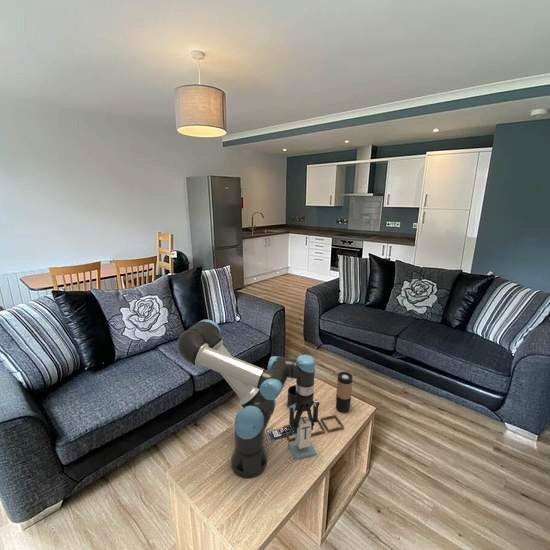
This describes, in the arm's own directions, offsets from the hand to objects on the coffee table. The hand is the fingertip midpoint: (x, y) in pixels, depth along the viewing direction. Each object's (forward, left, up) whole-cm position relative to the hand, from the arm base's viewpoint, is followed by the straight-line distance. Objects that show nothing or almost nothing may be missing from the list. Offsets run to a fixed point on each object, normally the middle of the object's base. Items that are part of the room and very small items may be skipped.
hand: (302, 436), depth 128 cm
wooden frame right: (+20, +10, -7) cm, 23 cm away
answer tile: (0, 0, -7) cm, 7 cm away
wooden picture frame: (0, +10, -7) cm, 12 cm away
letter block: (0, 0, -3) cm, 3 cm away
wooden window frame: (+10, +10, -7) cm, 16 cm away
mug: (+9, +29, -7) cm, 31 cm away
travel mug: (+31, +19, -7) cm, 37 cm away
